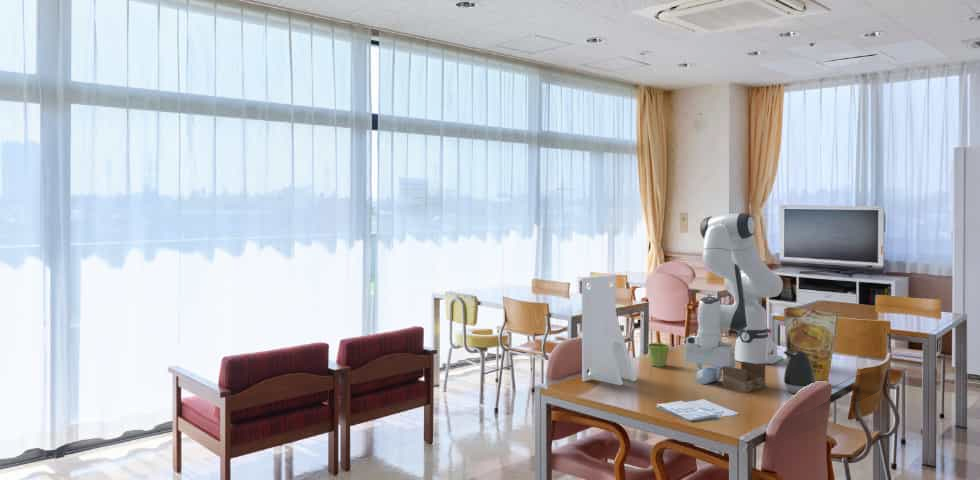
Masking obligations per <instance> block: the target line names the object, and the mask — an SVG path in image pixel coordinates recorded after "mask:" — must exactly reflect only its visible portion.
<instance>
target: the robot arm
mask: <svg viewBox="0 0 980 480" xmlns="http://www.w3.org/2000/svg"><path fill="white" fill-rule="evenodd" d="M699 227H700V228H699V231H700V235H701V237H702V238H703V244H702V254H701V255H702V258H701V259H702V265H703V266H704V268H705V269H706V270H707V271H708V272H710V273H712V274H714V275H715V276H718V277H721V278H723V279H724V286H725V289H726V291H727V292H728V293H729V294H730V295H731V297H733V303H732V304H723V303H721V301H720V299H719V298H717V297H714V296H706V297H701V298H700V299H699V302H698V307H697V310H696V322H697V325H698V329H697V334H695V335H692V336H688V337H686V338H685V343H686V344H685V346H684V360H685V361H686V362H689V363H694V364H695V367H696V368H697V370H698V371H699V370H702V369H703V368H702V366H703V365H706V366H709V367H710V366H711V367H714V366H716V367H717V370H718V371H717V373H714V378H720V373H721V372H722V373H723V366H727V367H733V368H735V366H736V361H737V362H740V363H741V362H743V361H744V362H750V363H756V364H761V365H763V364H764V365H765V364H769V365H770V364H771V365H772V364H775V363H777V362H779V361H781V360H783V359H784V357H783V355H780V354H778V346H777V345H776V343H775V342H774V341H773V340H772V339H770V337H769V336H770V334H771V333H772V328H767V310H766V309H765V307H764V306H762V305H761V304H759V302H758V301H757V298H765V299H766V298H774V297H778V296H779V295H780V294H781V293H782V292H783V287H784V283H783V280H782V277H781V276H780V275H779V274H777V273H775V272H774V271H772V270H771V269H770V267H768V266H767V265H766V263H765V262H764V261H763V259H762V258H761V255H760V253H759V249H758V247H757V244H756V240H755V237H754V234H755V231H756V221H755V219H754V217H753V216H752V215H751V214H749V213H745V212H740V213H725V214H720V215H719V214H718V215H714V216H708V217H705V218H704V219H702V221H701V222H700V226H699ZM756 297H757V298H756ZM722 330H725V331H726V330H727V331H728V330H729V331H734V332H737V336H738V337H737V338H736V339H735V347H734V346H733V345H732V344H731V343H730V342H728V343H727V342H724V341H723V340H722V337H723V335H722V334H723V333H722V332H723V331H722Z"/></svg>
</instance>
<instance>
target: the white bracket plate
mask: <svg viewBox="0 0 980 480" xmlns="http://www.w3.org/2000/svg"><path fill="white" fill-rule="evenodd" d="M616 280H617V276H616V274H614V273H613V274H612V273H611V274H605V275H602V274H601V275H596V276H595V275H594V276H584V277H581V364H582V365H581V371H582V372H581V379H582V380H581V381H582V382H587V381H591V380H592V381H593V380H594V381H598V382H601V383H609V384H613V385H618V386H621V385H624V383H623V380H622V379H624V380H627V381H631V382H635V381H636V382H637V377H636V374H635V371H634V369H633V364H632V361H631V358H630V355H629V351H628V348H627V345H626V341H625V338H624V334H623V331H622V328H621V325H620V322H619V321H620V320H619V319H618V314H617V312H616V311H617V306H616V305H617V303H616V302H617V301H616V300H617V296H616V295H617V293H616V289H617V288H616V287H617V286H616V285H617V281H616ZM588 370H589V372H588Z"/></svg>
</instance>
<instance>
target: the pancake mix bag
mask: <svg viewBox="0 0 980 480" xmlns="http://www.w3.org/2000/svg"><path fill="white" fill-rule="evenodd" d="M783 311H784V324H785V325H784V327H785V328H784V330H785V331H784V332H785V348H786V350H785V351H787V352H789V353H791V354H792V353H793V352H795V351H798V350H800V351H803V352H805V353H806V354H807V356H808V357H809V359H810V362H811V364H812V367H813V371H814V377H815V382H816V381H827V382H829V383H830V381H829V375H830V373H831V367H832V359H833V353H834V348H835V343H836V334H837V325H838V319H839V317H838V314H837V313H835V312H834V311H833V310H823V309H813V308H807V307H806V308H805V307H792V306H788V307H785V308H784V309H783ZM789 358H790V357H789V356H787V355H786V363H787V362H788V360H789Z"/></svg>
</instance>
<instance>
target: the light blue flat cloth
mask: <svg viewBox="0 0 980 480" xmlns="http://www.w3.org/2000/svg"><path fill="white" fill-rule="evenodd" d="M655 408H658V409H660V410H662V411H664V412H667V413H669V414H672V415H674V416H676V417H678V418H681V419H683V420H685V421H688V422H689V423H690V422H691V423H692V422H697V421H703V420H710V419H711V420H712V419H720V418H726V417H725V416H727V417H733V416H739V415H740V413H739V412H736V411H734V410H732V409H729V408H726V407H723V406H721V405H718V404H715V403H714V402H711V401H709V400H706V399H705V398H702V399H697V400H690V401H684V400H679V401H670V402H667V403H656V406H655Z"/></svg>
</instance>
